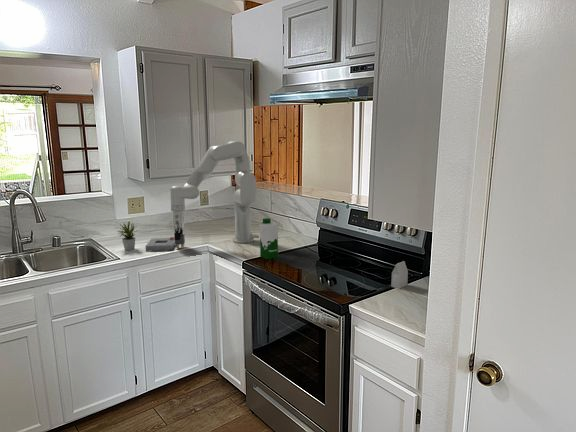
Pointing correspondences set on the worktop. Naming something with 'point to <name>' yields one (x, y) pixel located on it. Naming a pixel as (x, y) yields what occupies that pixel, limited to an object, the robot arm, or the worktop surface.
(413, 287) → the worktop surface
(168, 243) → the socket plate
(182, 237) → the plug
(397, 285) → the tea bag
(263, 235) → the milk carton
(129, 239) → the house plant
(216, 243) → the worktop surface
